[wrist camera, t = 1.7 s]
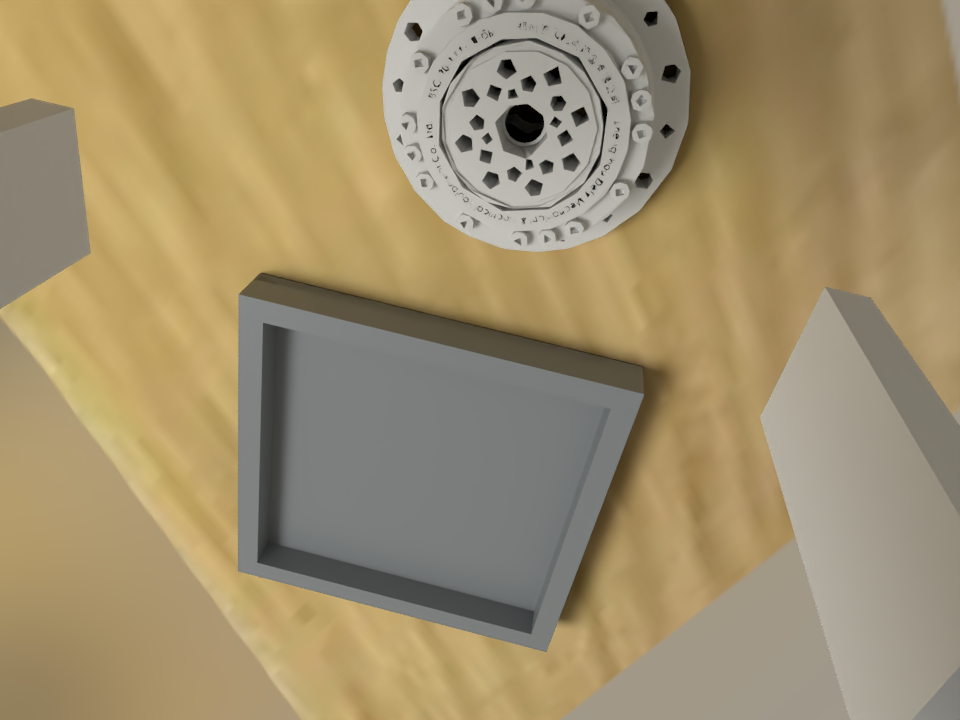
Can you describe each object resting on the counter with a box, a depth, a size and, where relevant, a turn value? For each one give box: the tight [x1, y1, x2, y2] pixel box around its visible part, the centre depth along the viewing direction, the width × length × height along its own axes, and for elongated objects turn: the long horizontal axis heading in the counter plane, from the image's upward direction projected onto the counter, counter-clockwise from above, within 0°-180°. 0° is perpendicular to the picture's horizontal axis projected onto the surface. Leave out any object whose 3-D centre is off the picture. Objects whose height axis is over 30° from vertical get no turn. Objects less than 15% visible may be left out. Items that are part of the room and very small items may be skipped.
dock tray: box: [238, 273, 644, 652], centre depth 33 cm, size 16×16×2 cm
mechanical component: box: [382, 0, 691, 252], centre depth 23 cm, size 10×4×10 cm
